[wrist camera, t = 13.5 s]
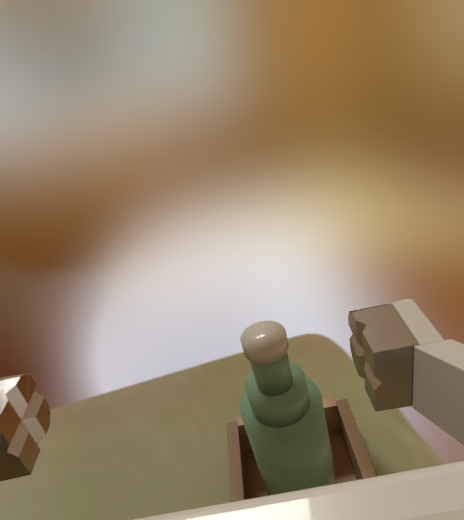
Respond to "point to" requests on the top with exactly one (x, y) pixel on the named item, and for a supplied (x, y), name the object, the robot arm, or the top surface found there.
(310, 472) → the bottle
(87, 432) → the top surface
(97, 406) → the top surface
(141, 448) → the top surface
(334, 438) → the u rest
